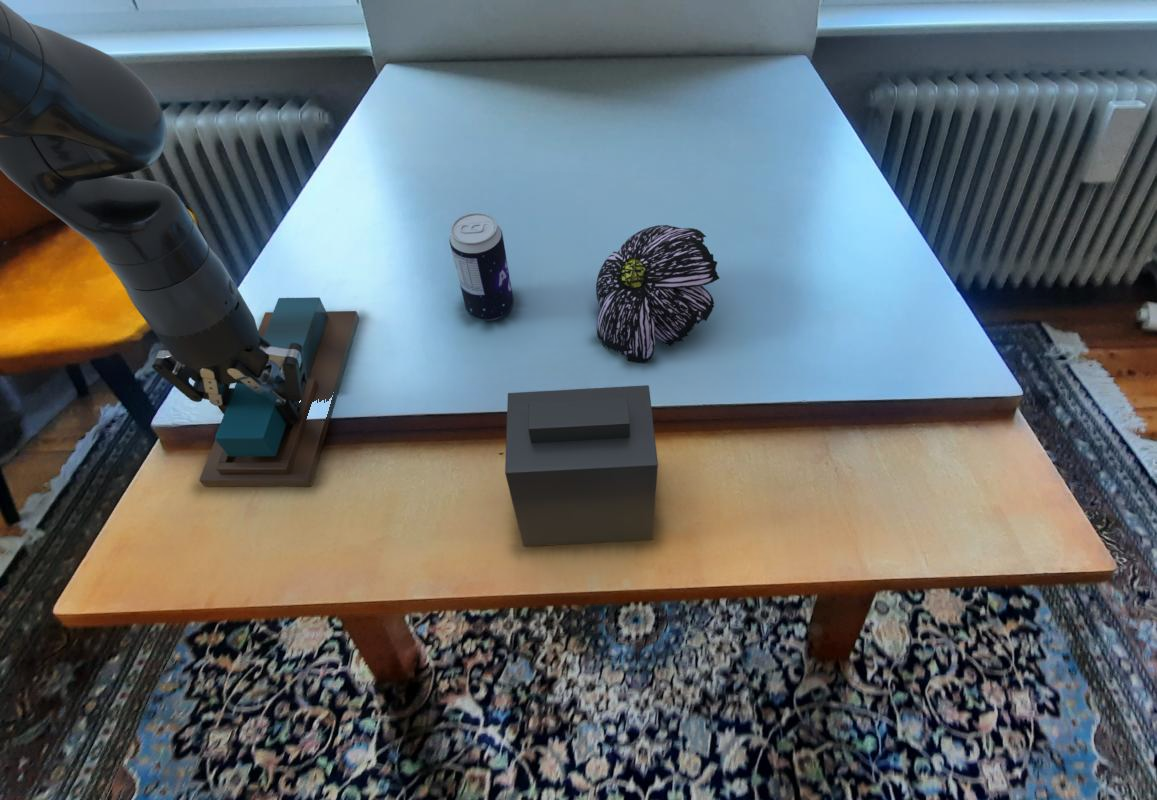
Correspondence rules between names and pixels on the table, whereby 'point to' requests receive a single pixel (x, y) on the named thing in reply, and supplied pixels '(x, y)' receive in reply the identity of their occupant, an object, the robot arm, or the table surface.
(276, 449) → the back pad
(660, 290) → the decorative flower
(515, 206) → the table surface
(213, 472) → the brown flat rectangular board
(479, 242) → the beverage can
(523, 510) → the pad stand
